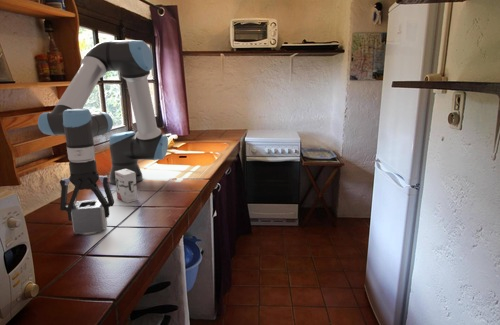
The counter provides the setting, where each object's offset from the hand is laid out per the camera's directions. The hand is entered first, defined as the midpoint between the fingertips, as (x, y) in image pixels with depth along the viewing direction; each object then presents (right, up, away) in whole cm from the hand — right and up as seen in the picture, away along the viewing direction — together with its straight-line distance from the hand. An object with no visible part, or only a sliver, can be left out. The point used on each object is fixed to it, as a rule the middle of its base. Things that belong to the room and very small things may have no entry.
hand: (90, 228), depth 110 cm
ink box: (+1, +6, +29) cm, 29 cm away
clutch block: (0, 0, 0) cm, 0 cm away
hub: (0, -1, 0) cm, 1 cm away
